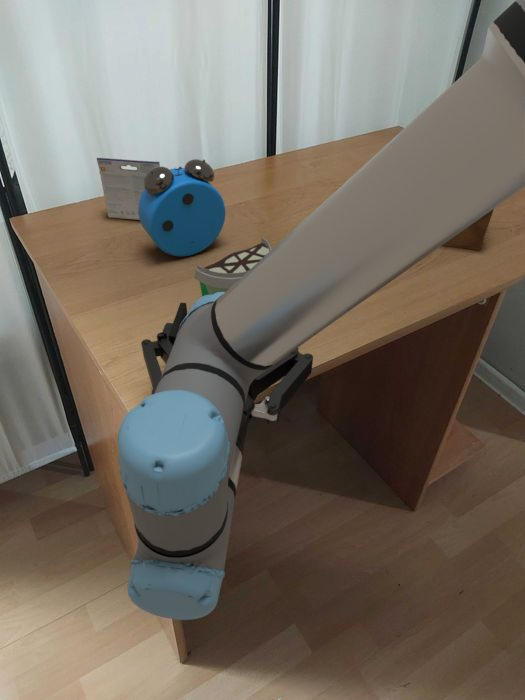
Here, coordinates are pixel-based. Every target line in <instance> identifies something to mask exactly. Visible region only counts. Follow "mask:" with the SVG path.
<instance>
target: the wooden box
mask: <svg viewBox="0 0 525 700" xmlns="http://www.w3.org/2000/svg"><path fill="white" fill-rule="evenodd" d="M494 210H495V208H494V209H493V210H491V211H490V212H488V213H487V214H485V215H484V216H483V217H481V218H480V219H478V220H477V221H476V222H474V223H473V224H471V225H470V226H469V227H467V228H466V229H464V230H463V231H462V232H460V233H459V234H457V235H456V236H454V237H453V238H452V239H450V240H449V241H447V242H446V243H445V244H443V245H442V246H443V247H450V248H457V249H465V250H473V251H480V250H481V248H482V245H483V242H484V239H485V236H486V233H487V230H488V227H489V225H490V221H491V219H492V216H493V213H494ZM442 246H441V247H442Z"/></svg>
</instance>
